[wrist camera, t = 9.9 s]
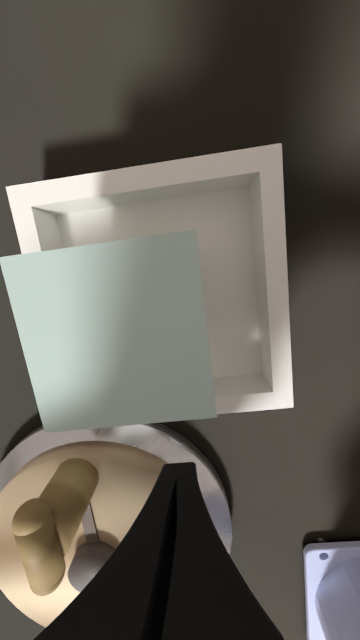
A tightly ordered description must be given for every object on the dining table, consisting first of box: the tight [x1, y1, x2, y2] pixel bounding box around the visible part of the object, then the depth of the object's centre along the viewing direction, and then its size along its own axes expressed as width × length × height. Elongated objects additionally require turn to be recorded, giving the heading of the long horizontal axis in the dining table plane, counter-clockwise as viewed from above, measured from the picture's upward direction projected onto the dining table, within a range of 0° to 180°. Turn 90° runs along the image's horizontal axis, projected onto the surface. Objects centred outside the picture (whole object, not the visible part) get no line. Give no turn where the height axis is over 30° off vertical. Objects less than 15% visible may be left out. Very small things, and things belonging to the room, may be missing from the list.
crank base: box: [0, 423, 232, 554], centre depth 15 cm, size 15×14×2 cm
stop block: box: [0, 230, 217, 433], centre depth 9 cm, size 4×4×7 cm
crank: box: [0, 441, 209, 627], centre depth 12 cm, size 13×12×5 cm
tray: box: [6, 143, 293, 414], centre depth 12 cm, size 10×10×2 cm
